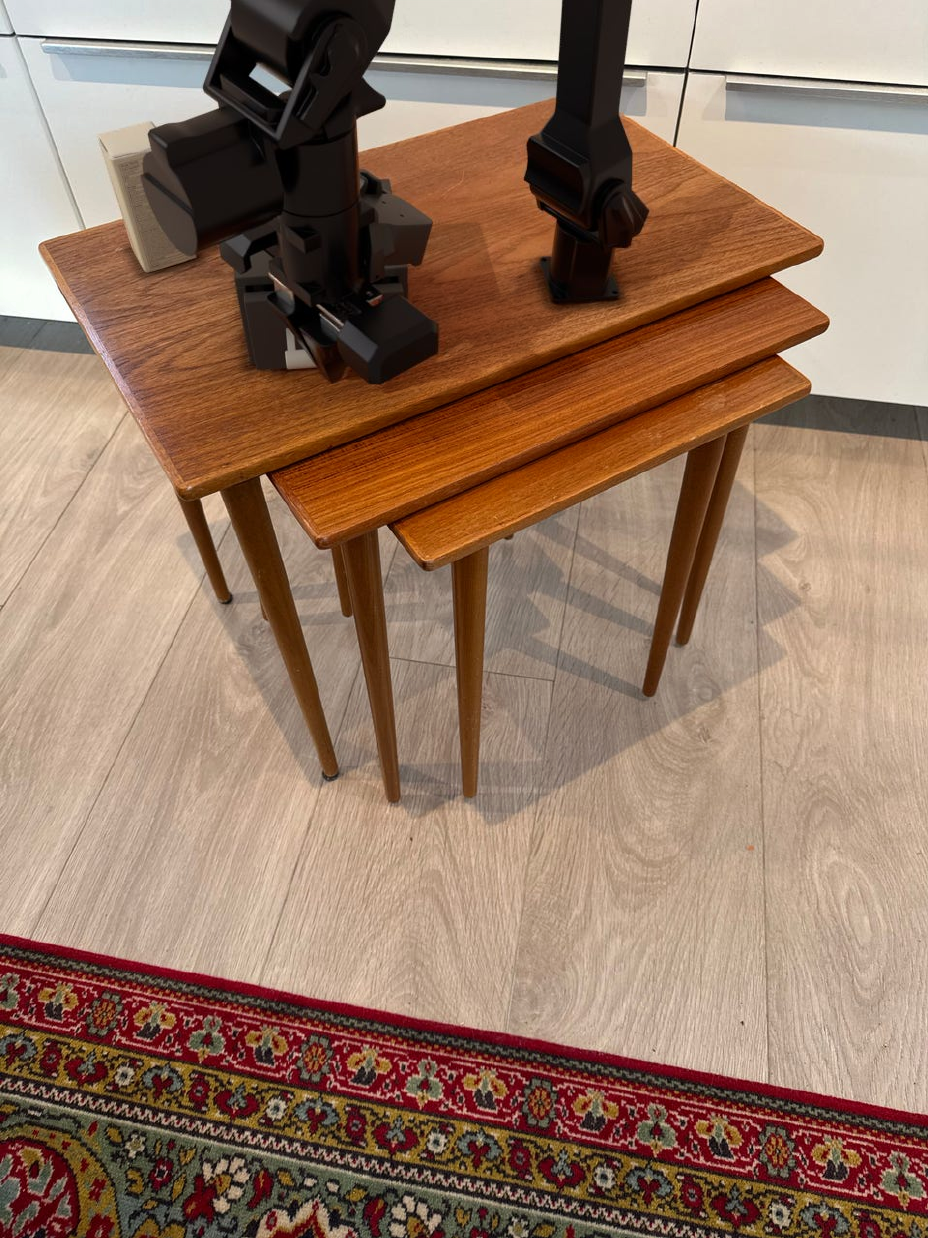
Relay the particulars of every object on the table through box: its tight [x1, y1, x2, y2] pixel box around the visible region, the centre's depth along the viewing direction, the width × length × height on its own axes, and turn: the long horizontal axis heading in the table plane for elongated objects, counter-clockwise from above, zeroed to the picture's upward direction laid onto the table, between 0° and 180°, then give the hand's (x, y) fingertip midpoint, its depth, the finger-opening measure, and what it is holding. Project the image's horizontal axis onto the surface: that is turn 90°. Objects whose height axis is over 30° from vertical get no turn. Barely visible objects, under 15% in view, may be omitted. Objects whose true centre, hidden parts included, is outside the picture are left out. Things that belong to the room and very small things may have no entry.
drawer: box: [244, 277, 403, 371], centre depth 76 cm, size 16×12×7 cm
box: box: [96, 120, 197, 273], centre depth 82 cm, size 5×4×11 cm
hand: (333, 379), depth 72 cm, fingers closed
